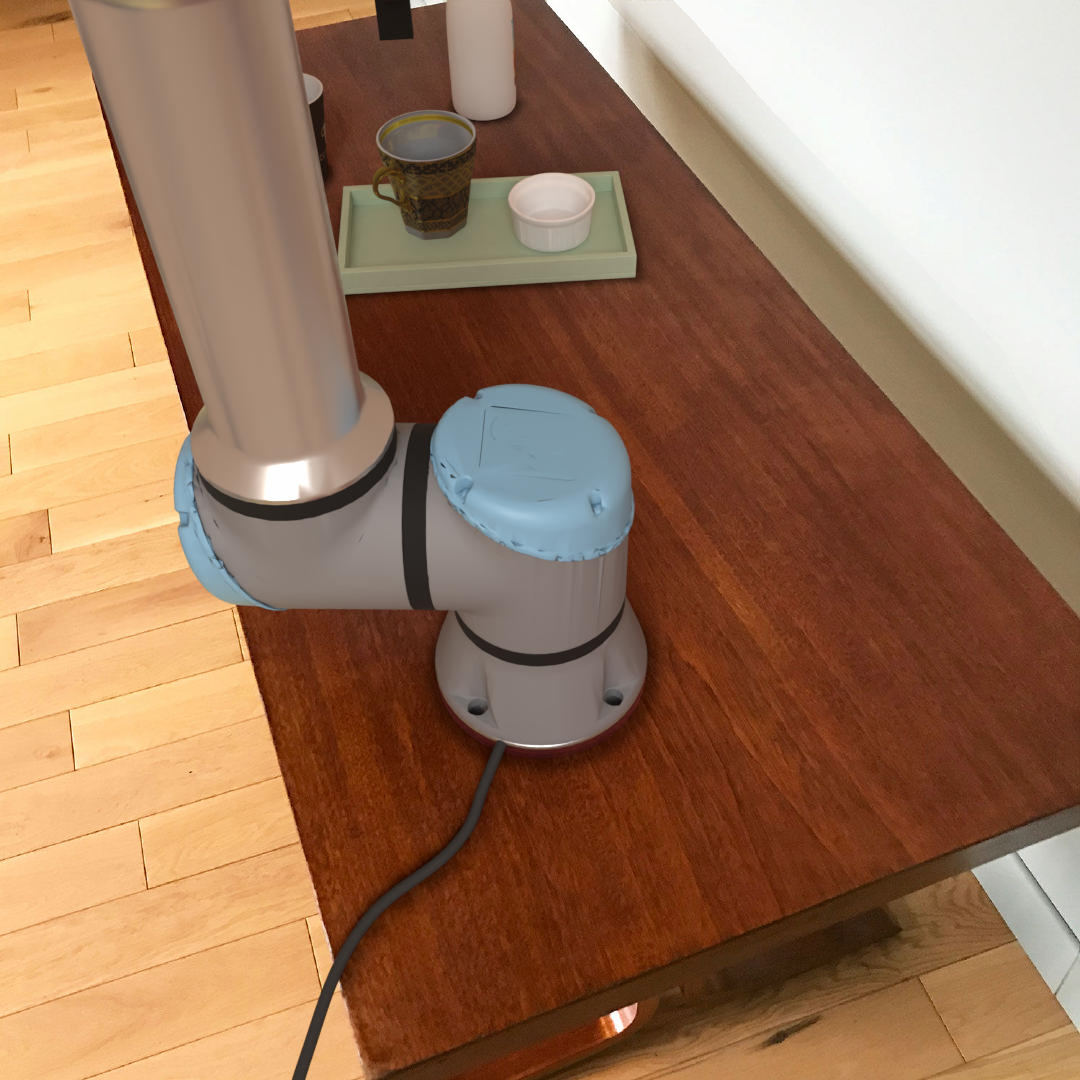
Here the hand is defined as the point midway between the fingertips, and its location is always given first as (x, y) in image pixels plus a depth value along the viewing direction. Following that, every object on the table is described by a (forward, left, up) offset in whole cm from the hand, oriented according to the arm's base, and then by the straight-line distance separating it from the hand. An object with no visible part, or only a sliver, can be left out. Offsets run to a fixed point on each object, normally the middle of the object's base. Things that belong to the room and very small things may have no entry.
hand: (397, 0), depth 94 cm
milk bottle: (+32, -7, -27) cm, 42 cm away
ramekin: (+4, -13, -26) cm, 30 cm away
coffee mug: (+20, +14, -27) cm, 36 cm away
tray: (+4, -6, -27) cm, 28 cm away
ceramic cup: (+6, 0, -26) cm, 27 cm away
